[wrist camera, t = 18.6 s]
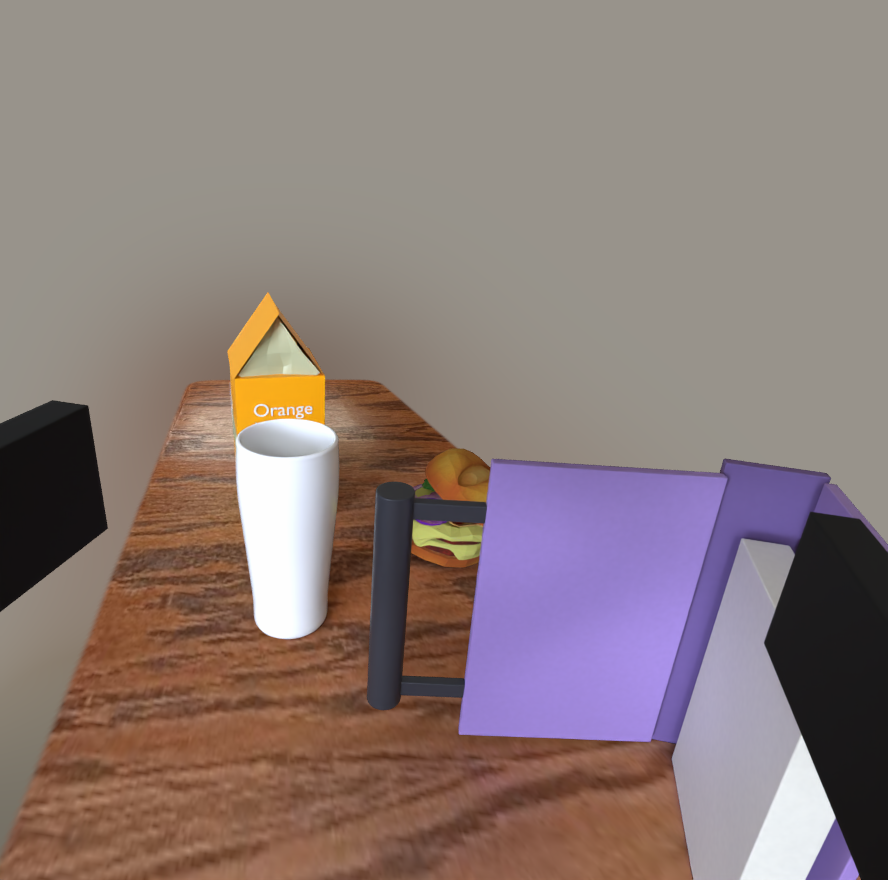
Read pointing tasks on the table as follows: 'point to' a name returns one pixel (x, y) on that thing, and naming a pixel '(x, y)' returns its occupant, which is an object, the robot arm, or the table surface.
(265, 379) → the orange juice
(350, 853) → the table surface
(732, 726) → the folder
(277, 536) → the drinking glass
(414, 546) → the cheeseburger
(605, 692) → the folder cover
